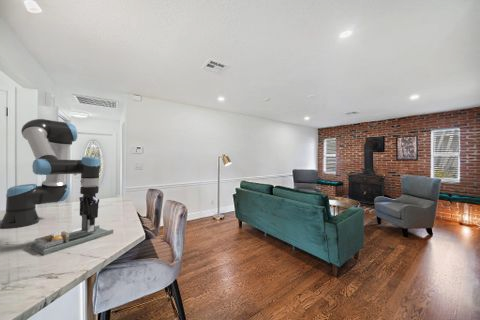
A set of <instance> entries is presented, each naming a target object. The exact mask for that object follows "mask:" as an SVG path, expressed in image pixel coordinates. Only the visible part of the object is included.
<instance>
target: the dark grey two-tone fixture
mask: <svg viewBox="0 0 480 320" xmlns="http://www.w3.org/2000/svg"><path fill="white" fill-rule="evenodd" d="M88 218H89V213H84V214H82V216H81V229H78V230H79V231H78V230H75V231H70V232H67V231H65V230H64V231H61V232H60V235H62V236H63V238H64V239H63V242H65V243H66V242H69V239H73V238H76V237H80V236H83V235H87V234H90V233H94V232H96V227H95V226H96V218H95V219H94V231H90V232H87V224H88V220H87V219H88Z"/></svg>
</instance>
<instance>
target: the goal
mask: <svg viewBox="0 0 480 320" xmlns="http://www.w3.org/2000/svg"><path fill="white" fill-rule="evenodd" d="M53 237H55V236H54V234H48V235H45V236H41V237H37V238H34V242H35V247H36V248H38V249H40V250H42V251H43V250H45V249H48V248H52V247H55V246H58V245H62V244H63V239H58V240H55V241H52V238H53Z"/></svg>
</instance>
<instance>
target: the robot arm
mask: <svg viewBox="0 0 480 320" xmlns="http://www.w3.org/2000/svg"><path fill="white" fill-rule="evenodd" d="M21 135H22V137H23V139H24V140H26V141H27V142H28V144H29V147H30V149H31V151H32V153H33V156H34V159H35V160H33V162H32V165H31V167H32V172H33V174H34V175H39V176H40V175H41V176H42V175H43V176H45V180H44V181H42V182H41V185H38V184H36V183H28V184H21V185H20V184H19V185H13V186H10V187H9V188H8V189H7V191H6V194H5V197H6V201H5V202H6V203H5V213H4V215H3V218H2V219H1V221H0V228H1V229H14V228H23V227H27V226H32V225H35V224H38V223H39V221H40V217H39V214H38V212H37V209H36V208H37V207H36V206H37V205H44V204H52V203H53V204H54V203H55V204H56V203H59V202H64V201H65V200H66V199H67V198H68V197H69V195H70V185H68V184H67V182H66V181H65V176H66V175H75V174H76V175H79V174H80V180H79V182H80V191H79V193H80V195H82V196H80V197H79V216H80V217H82V214H84V213H89V218H88V219H87V220H88V224H87V232H90V231H94V219H95V220H96V219H97V218H99V217H98V215H99V203H100V198H97V196H96V195H97V194H98V193H99V189H100V188H99V185H100V168H101V167H100V166H101V163H100V161H101V159H100V157H97V156H83V157H82V158H81V159H68V153H69V146H71V145H73V142H76V141H77V139H78V131H77V127H76V126H75V125H74V124H72V123H68V122H67V121H65V122H64V121H57V120H49V119H46V118H45V119H44V118H36V119H32V120H29V121H27V122H26V123H25V124H24V125H22V128H21Z"/></svg>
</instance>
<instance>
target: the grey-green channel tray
mask: <svg viewBox="0 0 480 320" xmlns="http://www.w3.org/2000/svg"><path fill="white" fill-rule="evenodd" d="M95 227H96V232H94V233H90V234H87V235H83V236H80V237H76V238H73V239H69V242H66V243H65V242H63V244H62V245H58V246H55V247H52V248H48V249H45V250H43V251H42V250H40V249H38V248H36V247H35V241H34V242H30V243H29V246H28V247H29V249H31V250H33V251H34V252H37V253H39V254H41V255H42V256H47V255H49V254H52V253H55V252H56V253H57V252H58V251H59V252H60V251H62V250H65V249H68V248H72V247H74V246H78V245H81V244H83V243H87V242H91V241H93V240H96V239H100V238H103V237H106V236H109V235H112V234H114V229H104V228H100V225H99V224H98V225H95ZM79 230H80V229H78V230H77V231H79Z"/></svg>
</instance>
